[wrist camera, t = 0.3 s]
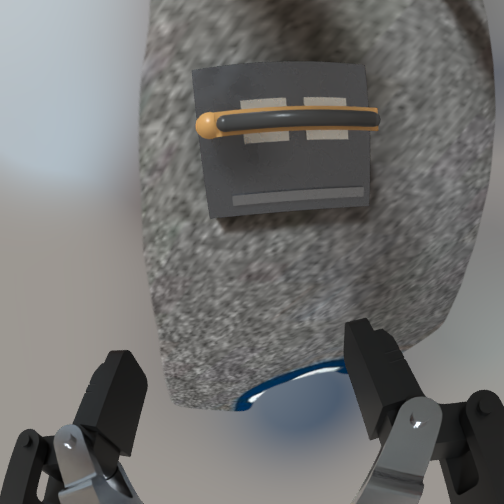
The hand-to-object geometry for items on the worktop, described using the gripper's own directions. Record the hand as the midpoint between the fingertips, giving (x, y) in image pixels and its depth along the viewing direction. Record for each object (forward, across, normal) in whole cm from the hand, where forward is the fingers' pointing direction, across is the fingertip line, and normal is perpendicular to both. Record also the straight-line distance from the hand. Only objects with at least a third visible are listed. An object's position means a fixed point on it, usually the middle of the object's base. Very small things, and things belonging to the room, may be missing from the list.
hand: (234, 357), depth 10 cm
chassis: (+28, -6, -5) cm, 29 cm away
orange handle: (+25, -6, -7) cm, 27 cm away
